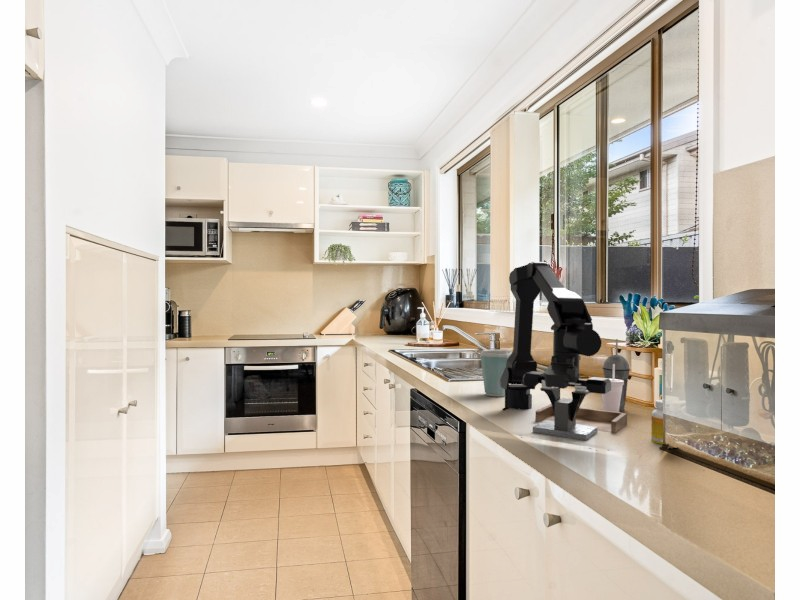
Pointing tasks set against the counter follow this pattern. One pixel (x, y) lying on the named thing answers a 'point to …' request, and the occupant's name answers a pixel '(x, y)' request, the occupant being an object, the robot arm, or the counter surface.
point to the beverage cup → (618, 372)
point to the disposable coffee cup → (494, 370)
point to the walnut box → (589, 418)
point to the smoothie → (613, 394)
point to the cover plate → (564, 433)
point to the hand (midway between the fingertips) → (565, 419)
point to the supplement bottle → (657, 423)
